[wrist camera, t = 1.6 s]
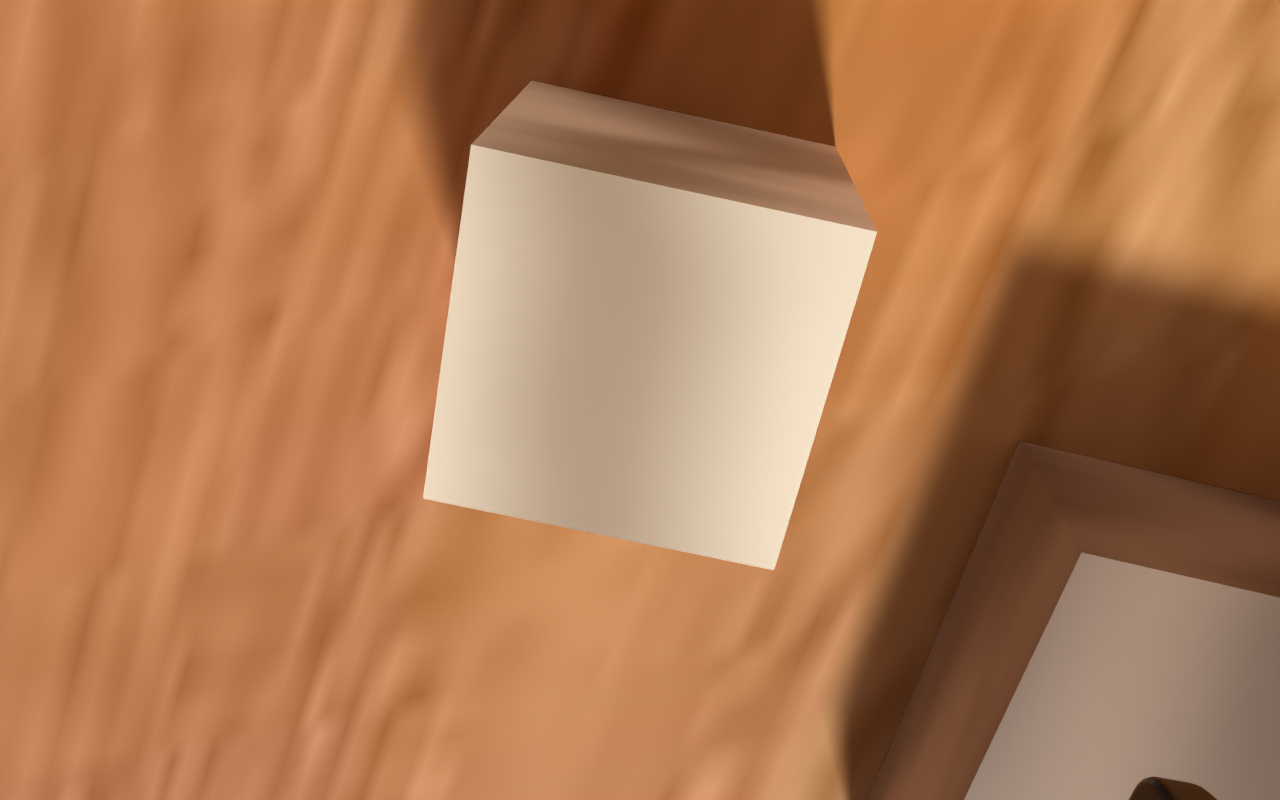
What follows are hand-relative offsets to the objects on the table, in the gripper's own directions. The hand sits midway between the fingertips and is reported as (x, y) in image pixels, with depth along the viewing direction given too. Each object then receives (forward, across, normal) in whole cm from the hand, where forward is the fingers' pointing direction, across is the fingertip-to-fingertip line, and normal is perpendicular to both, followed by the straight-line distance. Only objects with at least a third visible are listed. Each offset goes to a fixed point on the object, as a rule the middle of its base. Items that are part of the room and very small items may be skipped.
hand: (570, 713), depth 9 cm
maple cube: (+11, 0, 0) cm, 11 cm away
